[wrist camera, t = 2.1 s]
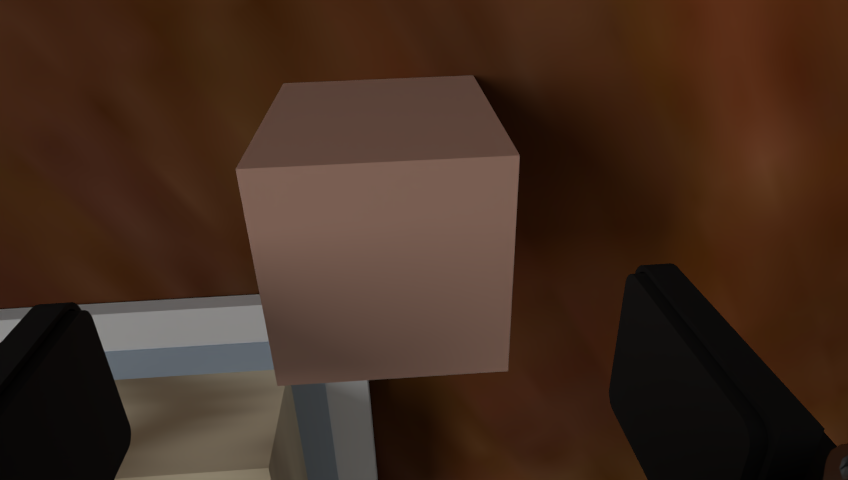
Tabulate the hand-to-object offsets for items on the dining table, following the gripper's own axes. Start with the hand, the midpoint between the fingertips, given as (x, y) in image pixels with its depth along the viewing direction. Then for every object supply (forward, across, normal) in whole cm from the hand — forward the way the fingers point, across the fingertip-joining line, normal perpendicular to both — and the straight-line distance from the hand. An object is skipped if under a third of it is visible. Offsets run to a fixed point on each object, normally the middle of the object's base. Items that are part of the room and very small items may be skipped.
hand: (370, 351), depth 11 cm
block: (+7, 0, -1) cm, 8 cm away
